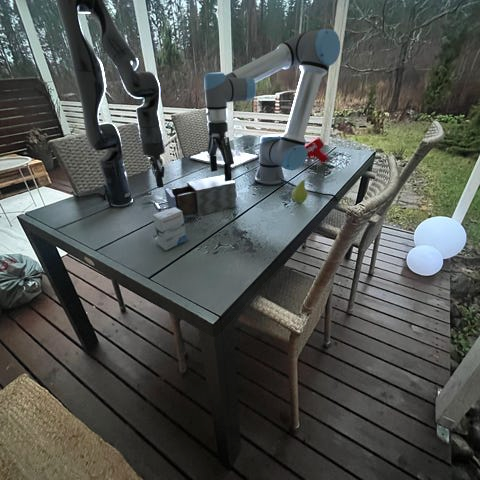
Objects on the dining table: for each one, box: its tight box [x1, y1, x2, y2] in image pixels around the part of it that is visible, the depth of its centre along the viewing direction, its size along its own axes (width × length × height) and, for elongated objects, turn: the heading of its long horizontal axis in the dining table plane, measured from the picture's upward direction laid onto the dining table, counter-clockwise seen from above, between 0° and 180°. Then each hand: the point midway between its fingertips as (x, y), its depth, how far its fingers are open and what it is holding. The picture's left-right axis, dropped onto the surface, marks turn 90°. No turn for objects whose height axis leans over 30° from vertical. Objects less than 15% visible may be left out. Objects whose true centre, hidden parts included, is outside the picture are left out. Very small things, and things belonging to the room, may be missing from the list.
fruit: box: [291, 174, 311, 204], centre depth 118 cm, size 7×8×12 cm
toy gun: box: [305, 136, 329, 165], centre depth 169 cm, size 18×4×15 cm
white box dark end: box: [186, 174, 237, 217], centre depth 115 cm, size 17×11×11 cm, turn 119°
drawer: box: [153, 185, 198, 216], centre depth 110 cm, size 22×10×9 cm, turn 119°
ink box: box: [152, 207, 187, 251], centre depth 91 cm, size 8×5×12 cm, turn 135°
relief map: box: [190, 148, 259, 169], centre depth 178 cm, size 27×35×5 cm
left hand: (160, 186), depth 103 cm, fingers closed
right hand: (220, 175), depth 113 cm, fingers open, 13 cm apart
